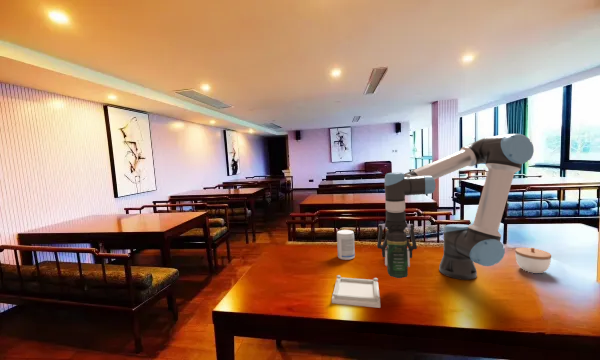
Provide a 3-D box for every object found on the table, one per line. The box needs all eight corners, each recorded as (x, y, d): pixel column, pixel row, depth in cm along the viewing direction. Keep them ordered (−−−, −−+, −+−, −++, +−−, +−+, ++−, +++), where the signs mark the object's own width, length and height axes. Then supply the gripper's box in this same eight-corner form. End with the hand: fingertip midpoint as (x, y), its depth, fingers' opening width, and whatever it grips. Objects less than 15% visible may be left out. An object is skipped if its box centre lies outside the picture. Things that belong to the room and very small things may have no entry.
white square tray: (378, 285, 114) (377, 277, 114) (380, 307, 97) (380, 299, 97) (336, 281, 119) (336, 274, 118) (332, 303, 101) (331, 294, 101)
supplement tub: (358, 256, 148) (357, 231, 147) (348, 261, 141) (347, 235, 140) (344, 253, 155) (343, 228, 154) (334, 257, 148) (333, 232, 147)
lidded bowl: (548, 279, 114) (549, 254, 113) (512, 270, 124) (512, 248, 123) (552, 270, 122) (552, 247, 122) (517, 263, 132) (518, 242, 131)
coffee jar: (409, 279, 102) (408, 233, 101) (388, 278, 104) (386, 233, 103) (405, 269, 112) (404, 226, 110) (386, 268, 114) (384, 226, 112)
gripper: (421, 208, 107) (422, 262, 109) (368, 209, 112) (371, 260, 114) (425, 212, 100) (426, 269, 102) (369, 212, 105) (371, 267, 107)
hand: (397, 264), depth 108 cm, fingers closed on coffee jar, 8 cm apart
